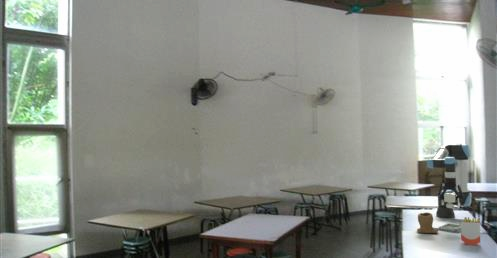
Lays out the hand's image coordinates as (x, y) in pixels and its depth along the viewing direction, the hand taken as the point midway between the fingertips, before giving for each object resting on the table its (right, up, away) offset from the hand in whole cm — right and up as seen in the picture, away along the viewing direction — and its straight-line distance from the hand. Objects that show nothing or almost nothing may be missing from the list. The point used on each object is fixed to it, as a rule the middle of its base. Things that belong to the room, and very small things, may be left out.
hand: (450, 205), depth 320 cm
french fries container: (-8, -18, -43) cm, 47 cm away
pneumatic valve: (0, -2, 0) cm, 2 cm away
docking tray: (0, -18, 0) cm, 18 cm away
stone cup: (-22, -19, -11) cm, 31 cm away
